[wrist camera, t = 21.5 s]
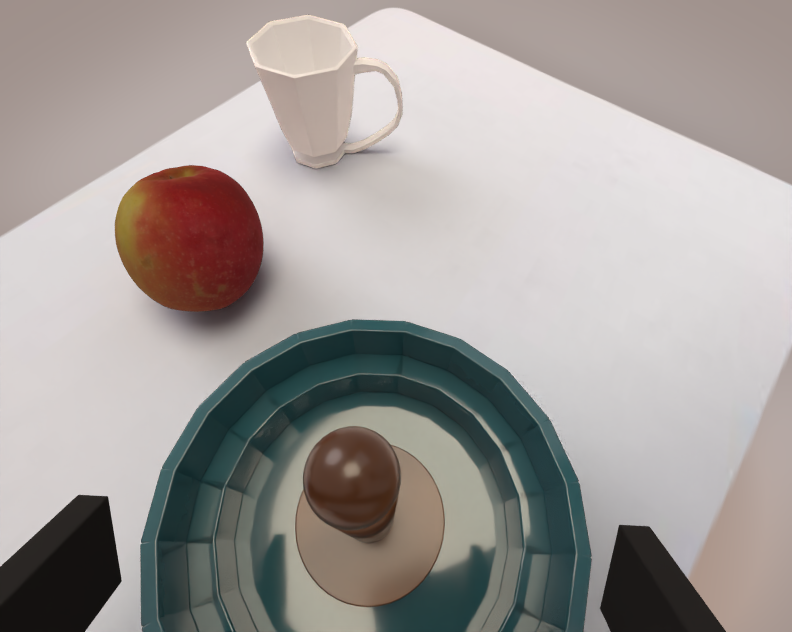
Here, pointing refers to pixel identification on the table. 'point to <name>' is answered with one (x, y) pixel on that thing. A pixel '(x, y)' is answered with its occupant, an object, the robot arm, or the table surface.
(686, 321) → the table surface
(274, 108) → the cup
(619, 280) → the table surface
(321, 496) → the coffee tamper
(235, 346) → the table surface
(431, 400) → the bowl
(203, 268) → the apple
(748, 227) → the table surface
